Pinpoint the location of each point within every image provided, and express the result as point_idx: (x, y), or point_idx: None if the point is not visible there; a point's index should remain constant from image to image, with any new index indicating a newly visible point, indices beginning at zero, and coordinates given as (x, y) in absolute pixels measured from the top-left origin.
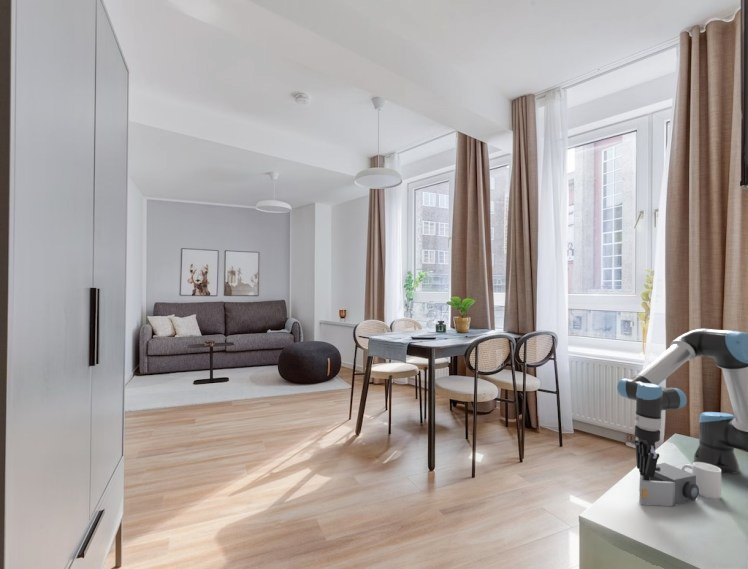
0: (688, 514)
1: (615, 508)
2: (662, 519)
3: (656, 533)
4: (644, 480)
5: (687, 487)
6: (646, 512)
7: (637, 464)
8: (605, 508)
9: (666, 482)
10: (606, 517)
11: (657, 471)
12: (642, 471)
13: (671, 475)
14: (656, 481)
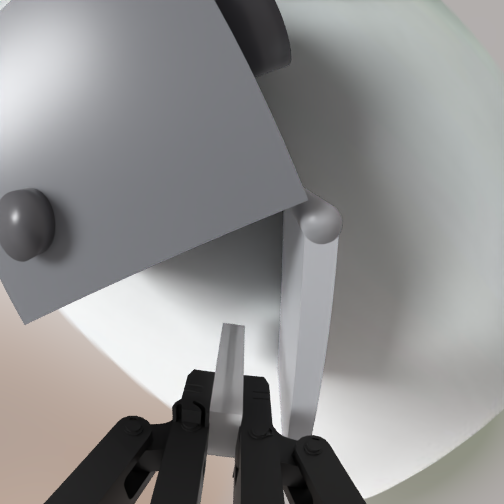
0: (378, 162)
1: None
2: (412, 335)
3: (466, 393)
4: None
5: (268, 43)
6: (355, 371)
7: (131, 480)
8: None
9: (325, 299)
10: (366, 477)
11: (86, 255)
12: (236, 480)
13: (170, 141)
14: (305, 379)
